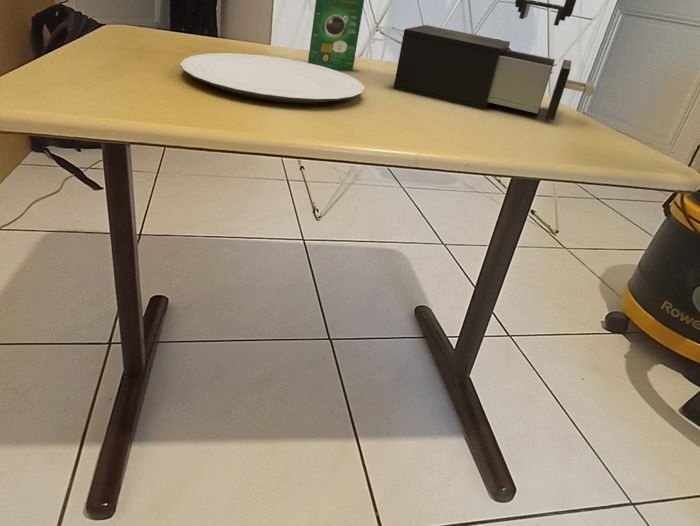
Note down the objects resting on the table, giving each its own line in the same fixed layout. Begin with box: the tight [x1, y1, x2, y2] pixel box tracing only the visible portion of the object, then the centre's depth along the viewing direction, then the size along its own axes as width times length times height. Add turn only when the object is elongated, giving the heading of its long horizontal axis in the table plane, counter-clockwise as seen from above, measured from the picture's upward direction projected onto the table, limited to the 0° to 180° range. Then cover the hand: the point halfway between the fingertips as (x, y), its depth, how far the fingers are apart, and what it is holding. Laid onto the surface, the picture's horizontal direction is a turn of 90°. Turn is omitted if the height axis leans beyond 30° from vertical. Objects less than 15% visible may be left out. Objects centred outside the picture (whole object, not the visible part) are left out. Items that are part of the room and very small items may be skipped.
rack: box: [518, 0, 564, 27], centre depth 82 cm, size 6×8×2 cm
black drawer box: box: [393, 24, 511, 111], centre depth 90 cm, size 15×14×9 cm
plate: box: [179, 52, 365, 105], centre depth 77 cm, size 25×25×2 cm
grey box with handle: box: [487, 49, 595, 121], centre depth 87 cm, size 18×12×7 cm
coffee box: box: [307, 0, 365, 72], centre depth 92 cm, size 8×3×13 cm, turn 125°
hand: (541, 15), depth 82 cm, fingers closed on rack, 5 cm apart
